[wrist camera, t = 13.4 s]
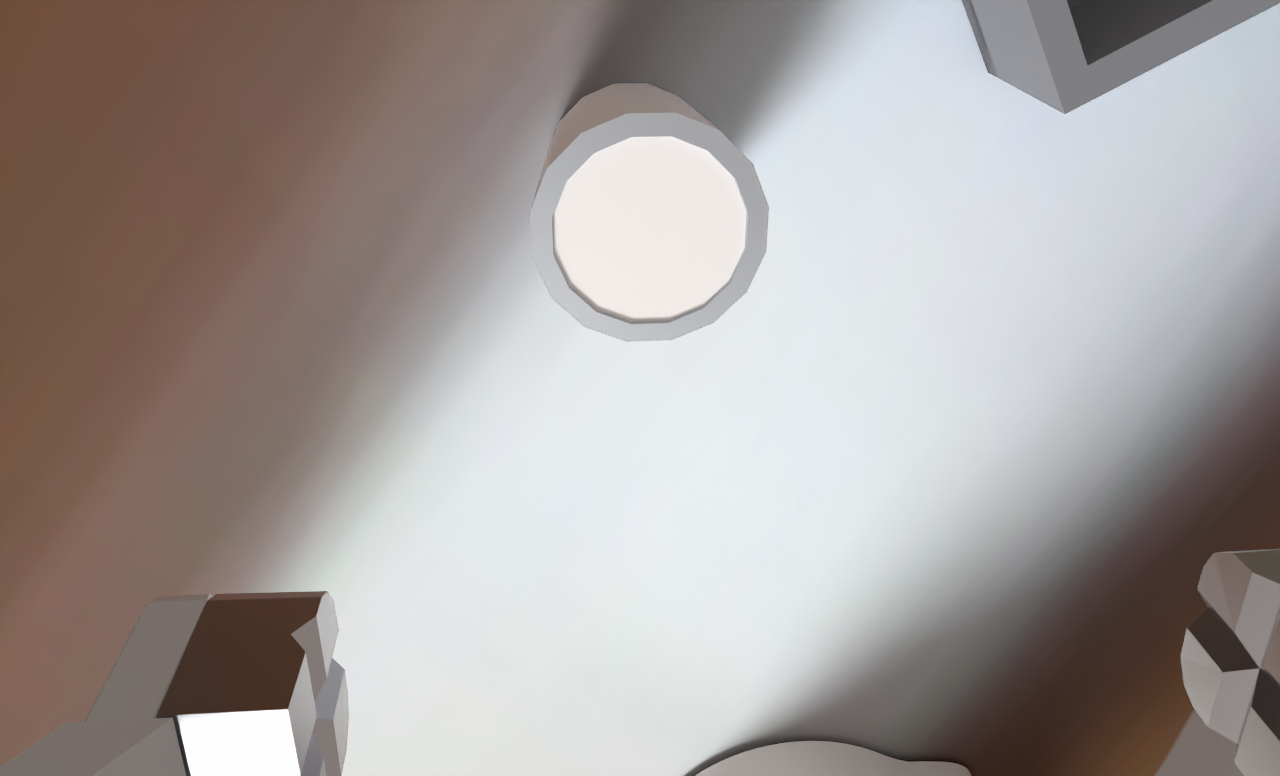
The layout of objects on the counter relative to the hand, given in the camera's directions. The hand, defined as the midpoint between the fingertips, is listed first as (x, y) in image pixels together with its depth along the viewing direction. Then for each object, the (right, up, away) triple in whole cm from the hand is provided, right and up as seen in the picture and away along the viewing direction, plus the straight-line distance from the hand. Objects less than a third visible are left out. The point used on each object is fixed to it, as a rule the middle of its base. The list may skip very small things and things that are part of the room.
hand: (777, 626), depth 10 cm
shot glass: (-2, +10, +27) cm, 29 cm away
